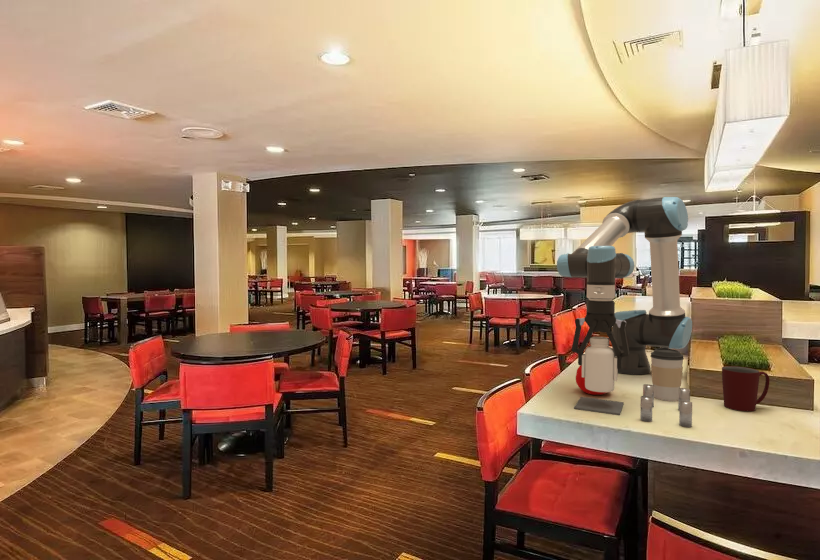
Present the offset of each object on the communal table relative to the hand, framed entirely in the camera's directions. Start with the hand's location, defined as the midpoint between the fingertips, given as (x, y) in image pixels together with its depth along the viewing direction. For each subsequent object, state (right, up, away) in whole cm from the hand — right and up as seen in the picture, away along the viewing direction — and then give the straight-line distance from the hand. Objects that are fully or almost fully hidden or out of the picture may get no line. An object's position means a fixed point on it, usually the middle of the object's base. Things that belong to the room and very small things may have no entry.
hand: (599, 378), depth 138 cm
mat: (0, -8, 0) cm, 8 cm away
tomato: (+4, -8, +14) cm, 17 cm away
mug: (+41, -8, -1) cm, 42 cm away
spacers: (+15, -9, -8) cm, 19 cm away
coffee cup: (+24, -8, +9) cm, 27 cm away
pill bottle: (0, -3, 0) cm, 3 cm away
